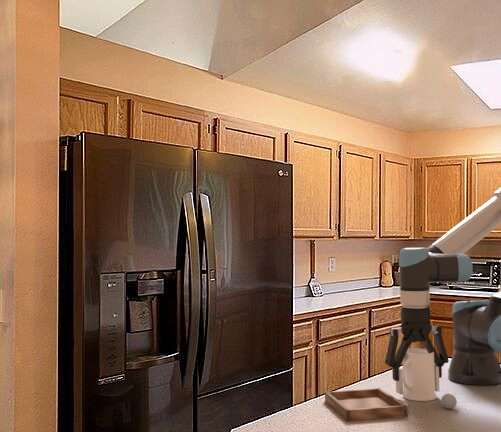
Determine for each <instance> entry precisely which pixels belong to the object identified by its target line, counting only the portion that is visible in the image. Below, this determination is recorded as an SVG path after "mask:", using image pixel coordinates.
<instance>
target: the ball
mask: <svg viewBox="0 0 501 432" xmlns="http://www.w3.org/2000/svg"><path fill="white" fill-rule="evenodd" d="M457 402H458V401H457V398H456V396H455V395H454V394H451V393H445V394H444V395H442V397H441V404H442V406H443V407H444V408H445V409H447V410H452V409H454V408H455V407H456V406H457Z"/></svg>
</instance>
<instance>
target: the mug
mask: <svg viewBox="0 0 501 432" xmlns="http://www.w3.org/2000/svg"><path fill="white" fill-rule="evenodd" d="M434 365H435V364H434V352H432V353H428V351H427V349H426V348H408V350H407V352H406V354H405V357H404V359H403V361H402V380H403V394H402V397H403V398H404V399H406V400H409V401H413V402H414V401H415V402H428V401H434V400H436V399H437V393H436V391H435V370H434Z"/></svg>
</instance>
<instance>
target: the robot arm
mask: <svg viewBox="0 0 501 432" xmlns="http://www.w3.org/2000/svg"><path fill="white" fill-rule="evenodd" d="M499 226H501V186H500V187H499V188H498V189H497V190H495V191H494V192H493V193H492V194H491V198H490V199H489V200H488V201H486V203H484V204H483V205H481V206H480V207H478V209H476V210H475V211H473V212H472V213H471V214H470V215H468V216H467V217H466V218H464V219H463V220H462V221H460V222H459V223H458V224H457V225H455V226H454V227H453V228H451V229H450V230H449V231H448V232H446V233H445V234H444V235H442V236H441V237H439V238H438V239H437V240H436V241H434V242H433V243H432V244H431V245H429V246H427V247H404V248H401V249H400V250H399V260H398V261H399V262H398V266H399V268H398V269H399V287H400V290H399V294H400V296H399V298H400V305H401V308H400V322H401V323H400V327H390V328H389V334H390V335H389V336H390V337H389V342H388V346H387V347H388V348H387V352H386V357H385V360H384V361H385V362H384V363H385V365H386V366H388V367H389V368H392V369H391V370H392V371H391V372H392V379H393V381H395V391H396V393H397V394H399V395H403V380H402V370H403V368H401V365H402V364H403V359H404V357H405V354H406V352H407V350H408V349H410V347H411V345H412V343H417V342H420V343H422V344H423V346H424V348H425V349H427V351H428V353H432V352H434V370H435V393H436V392H440V391H441V390H440V379H441V378H442V377H443V373H442V372H443V370H442V369H443V367H444V365H445V364H448V363H449V361H450V363H449V368H448V370H447V372H448V374H447V375H448V379H449V380H450V381H453V382H454V383H460V384H464V385H472V386H492V385H498V384H501V364H500V361H499V358H498V356H497V352H498V353H499V354H501V285H500V287H499V288H498V291H497V292H496V293H495V294H492V295H490V296H489V299H483V300H465V301H464V300H462V301H455V302H454V303H453V304H452V311H451V316H452V330H453V331H452V332H453V333H452V334H453V353H452V357H451V359H450V360H449V357H448V353H447V349H446V347H445V343H444V339H443V327H442V326H440V325H432V324H431V308H430V307H429V306H430V304H431V295H430V294H431V293H430V290H431V289H430V285H431V284H435V283H461V282H467V281H469V280H470V279H471V277H472V276H473V270H474V269H473V262H472V260H471V257H470V256H469V255H467V254H465V252H467V251H468V250H469V249H471V248H472V247H473V246H475V245H476V244H478V243H479V242H480V241H481V240H483V239H484V238H485V237H486V236H488V235H489V234H490V233H491V232H493V231H494V230H496V229H497V228H498V227H499ZM430 333H432V334H433V339H434V343H435V346H436V349H435V347H434V345H433V343H432V340H431V338H430V336H429V335H430ZM401 334H402V335H403V336H402V338H401V343H400V345H399V337H400V335H401ZM398 345H399V347H398ZM436 350H437V351H436Z"/></svg>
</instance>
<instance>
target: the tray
mask: <svg viewBox="0 0 501 432" xmlns="http://www.w3.org/2000/svg"><path fill="white" fill-rule="evenodd" d="M324 402H325V403H326V405H328V406H329V407H331V409H333V410H334V411H335V412H336V413H337V414H338V415H340V417H342V418H343V419H344V420H345V421H346V422H355V421H356V422H358V421H369V420H370V421H371V420H379V419H380V420H381V419H394V418H405V417H406V418H407V417H409V413H408V412H409V409H408V408H409V407H408V405H407V404H405V403H404V402H402V401H400V400H399V399H398V398H396V397H394V396H393V395H391V394H390V393H388V392H386V391H385V390H383V389H381V388H380V387H377V388H362V389H350V390H347V389H346V390H335V391H324Z"/></svg>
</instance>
